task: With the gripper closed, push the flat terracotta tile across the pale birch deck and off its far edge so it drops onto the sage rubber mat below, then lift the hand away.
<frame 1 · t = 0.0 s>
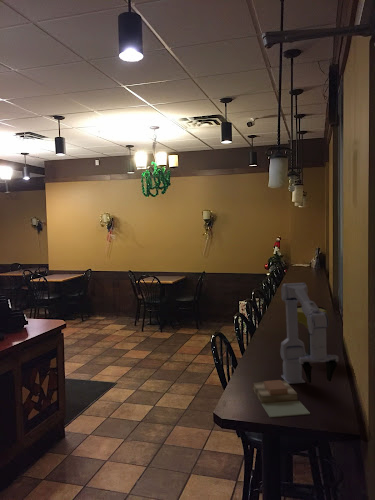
hand: (319, 381, 155), 10 cm above the bar counter, tool pointing down, fingers open, 7 cm apart
cocktail glass: (309, 357, 214), on the bar counter
terracotta tile: (275, 389, 166), point 3 cm above the bar counter, touching birch deck
birch deck: (274, 395, 168), on the bar counter
sage mat: (285, 409, 155), on the bar counter
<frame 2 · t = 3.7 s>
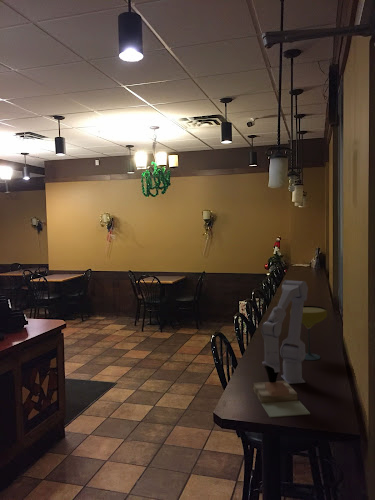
hand: (272, 383, 170), 4 cm above the bar counter, tool pointing down, fingers closed
terracotta tile: (276, 391, 164), point 3 cm above the bar counter, touching birch deck, gripper
everything else where it was.
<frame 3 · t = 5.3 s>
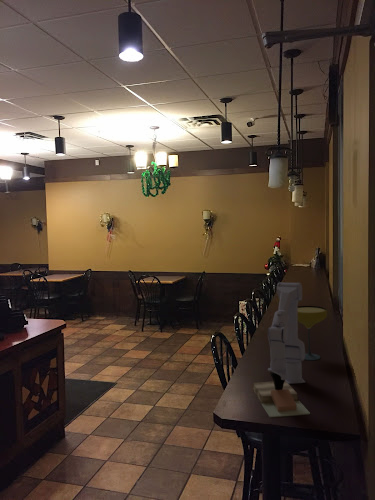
hand: (278, 391, 162), 4 cm above the bar counter, tool pointing down, fingers closed
terracotta tile: (283, 401, 157), point 2 cm above the bar counter, tilted 18°, touching birch deck, gripper, sage mat
everything else where it was.
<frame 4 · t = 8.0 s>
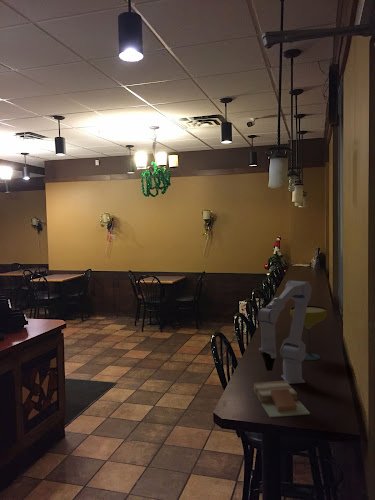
hand: (269, 370, 170), 9 cm above the bar counter, tool pointing down, fingers closed
terracotta tile: (283, 401, 157), point 2 cm above the bar counter, tilted 18°, touching birch deck, sage mat
everything else where it was.
at the end: terracotta tile inside the target area (2.3 cm from its centre), point 1.8 cm above the bar counter; terracotta tile moved 9.2 cm from its start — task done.
